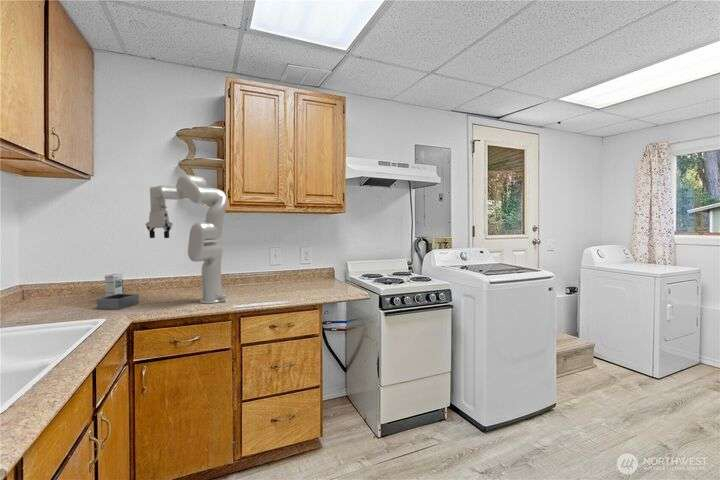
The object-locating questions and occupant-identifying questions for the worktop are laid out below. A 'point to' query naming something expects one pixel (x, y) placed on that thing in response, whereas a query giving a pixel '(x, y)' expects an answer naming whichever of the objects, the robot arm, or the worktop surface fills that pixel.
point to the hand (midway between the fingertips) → (159, 238)
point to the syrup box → (113, 284)
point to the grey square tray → (117, 301)
